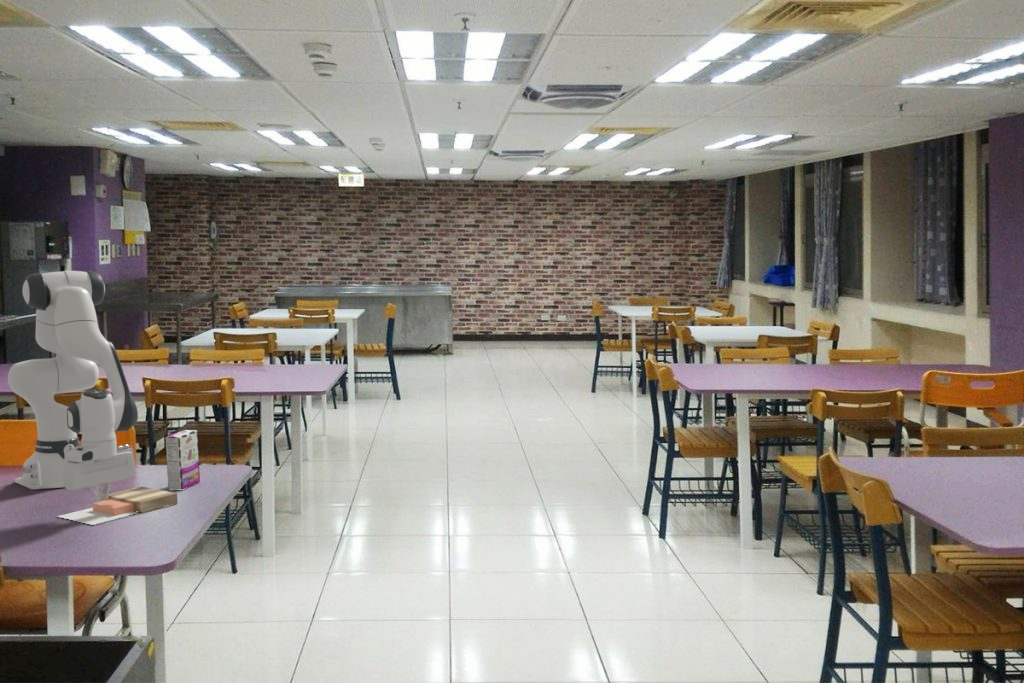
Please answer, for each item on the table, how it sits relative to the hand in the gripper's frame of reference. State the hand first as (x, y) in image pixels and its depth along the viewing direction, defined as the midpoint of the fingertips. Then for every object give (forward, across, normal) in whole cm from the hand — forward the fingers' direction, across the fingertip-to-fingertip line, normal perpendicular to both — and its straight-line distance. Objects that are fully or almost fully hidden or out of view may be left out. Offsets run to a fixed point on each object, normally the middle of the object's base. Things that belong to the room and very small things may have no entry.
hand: (101, 499), depth 284 cm
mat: (+4, +2, 0) cm, 4 cm away
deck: (+4, -12, 0) cm, 13 cm away
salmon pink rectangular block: (+4, -3, 0) cm, 5 cm away
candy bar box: (+4, -34, -8) cm, 35 cm away
